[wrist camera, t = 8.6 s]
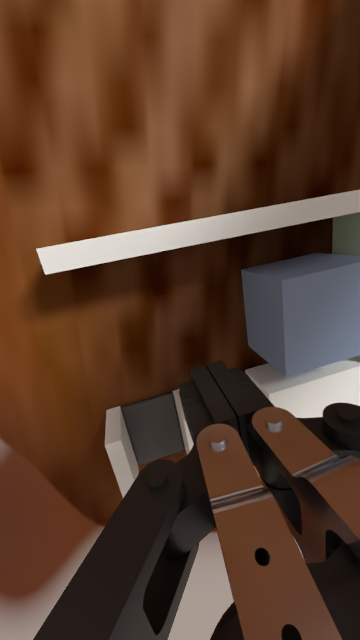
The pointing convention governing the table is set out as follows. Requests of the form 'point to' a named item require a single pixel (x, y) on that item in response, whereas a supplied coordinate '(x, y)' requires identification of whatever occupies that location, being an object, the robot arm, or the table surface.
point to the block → (303, 311)
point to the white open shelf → (284, 392)
